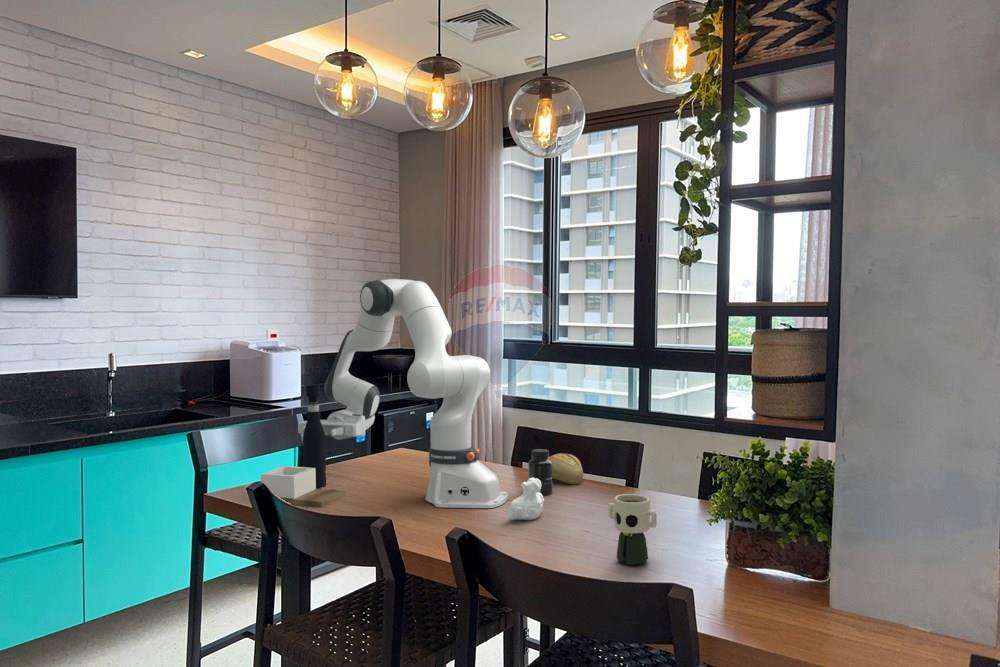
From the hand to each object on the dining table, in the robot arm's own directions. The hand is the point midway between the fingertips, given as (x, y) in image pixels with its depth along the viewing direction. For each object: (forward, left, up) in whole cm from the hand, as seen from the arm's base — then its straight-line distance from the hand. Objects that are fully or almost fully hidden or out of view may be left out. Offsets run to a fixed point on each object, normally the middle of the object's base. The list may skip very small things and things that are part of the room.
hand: (316, 432), depth 207 cm
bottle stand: (-4, +14, -16) cm, 22 cm away
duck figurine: (-69, +15, -16) cm, 72 cm away
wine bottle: (0, +1, -16) cm, 16 cm away
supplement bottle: (-66, -9, -16) cm, 68 cm away
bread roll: (-69, -25, -16) cm, 75 cm away
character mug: (-97, +38, -16) cm, 105 cm away
